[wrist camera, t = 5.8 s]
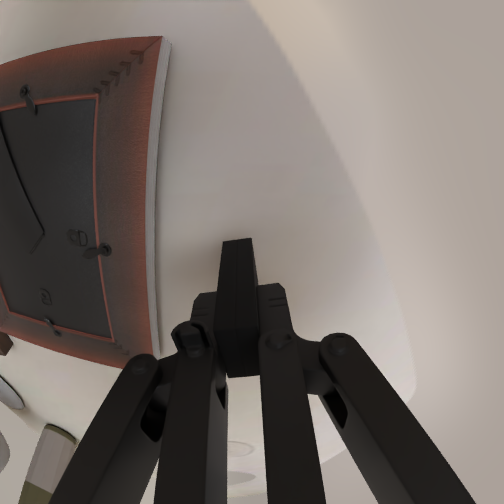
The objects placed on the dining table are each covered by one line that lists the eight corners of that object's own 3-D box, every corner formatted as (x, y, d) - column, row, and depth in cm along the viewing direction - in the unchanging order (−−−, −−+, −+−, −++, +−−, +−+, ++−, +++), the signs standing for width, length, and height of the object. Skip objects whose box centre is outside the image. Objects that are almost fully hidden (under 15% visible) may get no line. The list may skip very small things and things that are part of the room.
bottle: (51, 419, 30) (14, 568, 4) (85, 441, 33) (59, 584, 7) (38, 422, 32) (3, 554, 6) (69, 443, 35) (42, 570, 9)
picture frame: (-24, 80, 10) (9, 315, 20) (-46, 83, 8) (-3, 332, 18) (174, 45, 12) (161, 354, 22) (162, 34, 9) (155, 377, 19)
